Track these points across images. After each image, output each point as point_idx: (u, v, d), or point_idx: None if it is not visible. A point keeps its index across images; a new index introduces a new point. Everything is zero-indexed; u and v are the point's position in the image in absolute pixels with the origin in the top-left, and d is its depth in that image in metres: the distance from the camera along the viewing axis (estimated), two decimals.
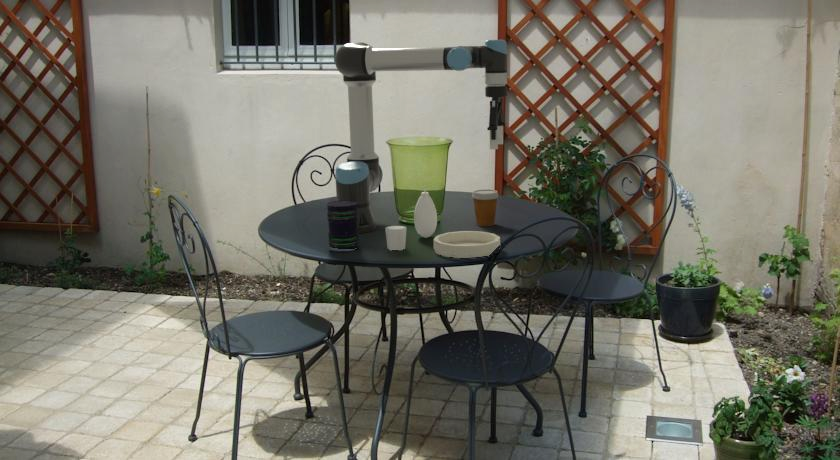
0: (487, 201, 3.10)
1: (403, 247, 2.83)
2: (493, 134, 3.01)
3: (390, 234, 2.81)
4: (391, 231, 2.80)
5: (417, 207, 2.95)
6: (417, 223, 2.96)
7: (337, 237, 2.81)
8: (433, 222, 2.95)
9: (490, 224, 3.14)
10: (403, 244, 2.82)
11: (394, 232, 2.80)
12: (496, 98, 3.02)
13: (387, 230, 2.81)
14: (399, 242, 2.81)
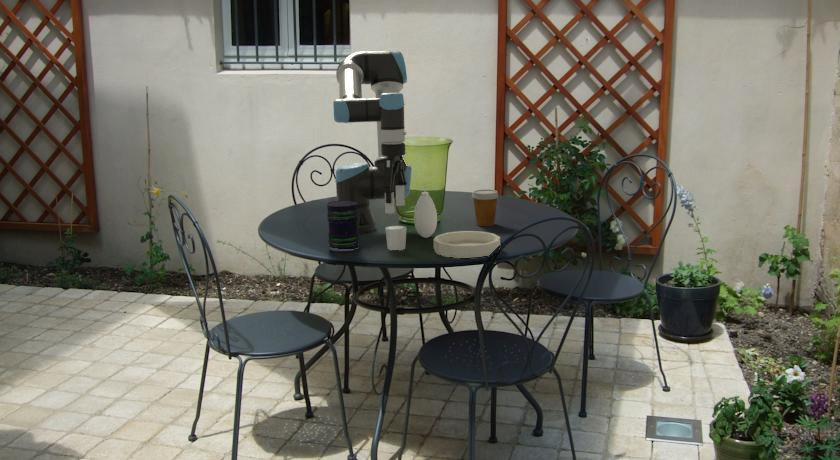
0: (487, 201, 3.10)
1: (403, 247, 2.83)
2: (388, 197, 2.72)
3: (390, 234, 2.81)
4: (391, 231, 2.80)
5: (417, 207, 2.95)
6: (417, 223, 2.96)
7: (337, 237, 2.81)
8: (433, 222, 2.95)
9: (490, 224, 3.14)
10: (403, 244, 2.82)
11: (394, 232, 2.80)
12: (392, 157, 2.74)
13: (387, 230, 2.81)
14: (399, 242, 2.81)
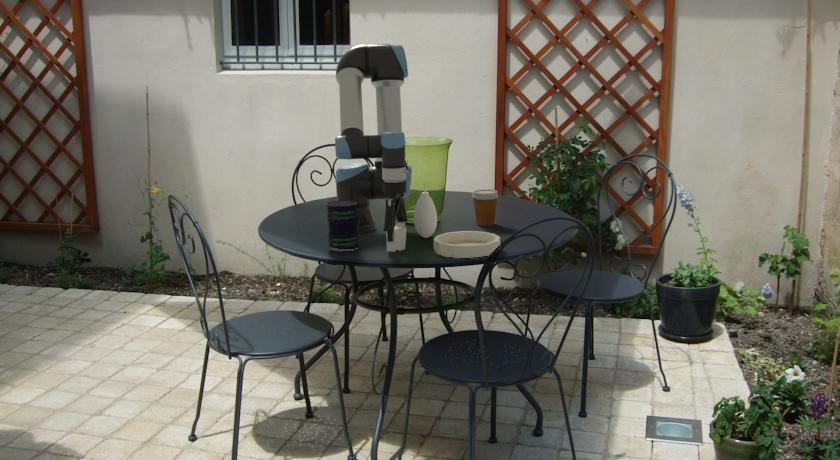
0: (487, 201, 3.10)
1: (403, 247, 2.83)
2: (390, 236, 2.76)
3: None
4: None
5: (417, 207, 2.95)
6: (417, 223, 2.96)
7: (337, 237, 2.81)
8: (433, 222, 2.95)
9: (490, 224, 3.14)
10: (403, 244, 2.82)
11: None
12: (393, 195, 2.77)
13: None
14: (399, 242, 2.81)
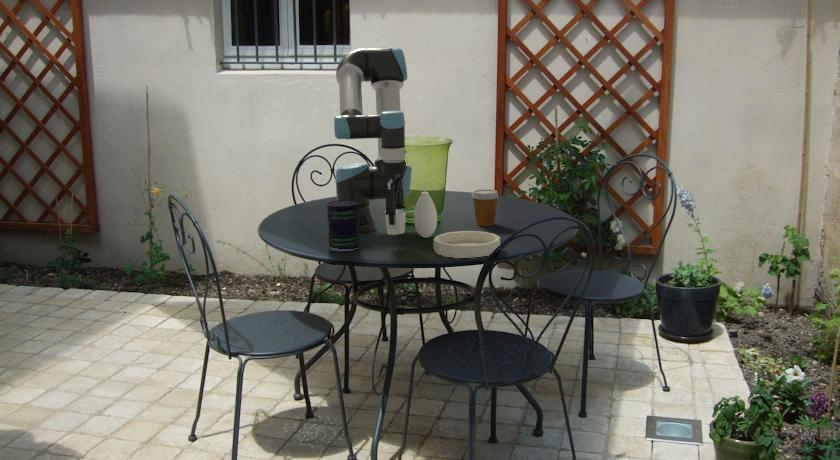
0: (487, 201, 3.10)
1: (402, 231, 2.82)
2: (391, 219, 2.78)
3: None
4: None
5: (417, 207, 2.95)
6: (417, 223, 2.96)
7: (337, 237, 2.81)
8: (433, 222, 2.95)
9: (490, 224, 3.14)
10: (402, 228, 2.82)
11: None
12: (392, 176, 2.76)
13: None
14: (398, 225, 2.81)
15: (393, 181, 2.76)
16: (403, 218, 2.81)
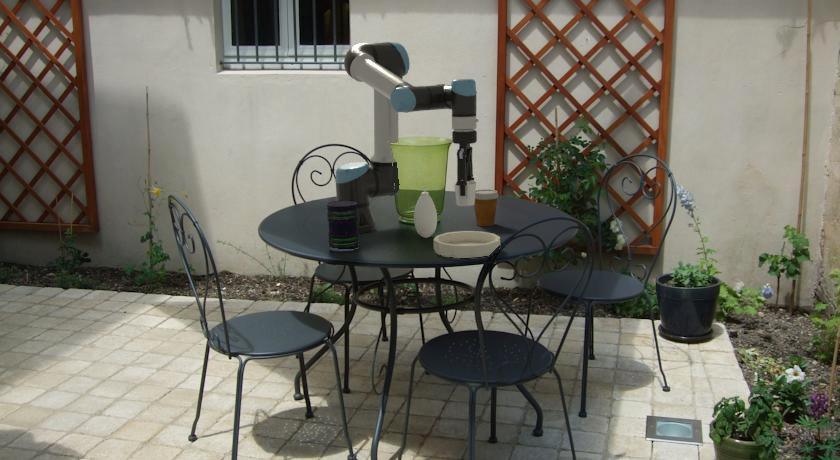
0: (487, 201, 3.10)
1: (473, 202, 2.74)
2: (462, 190, 2.70)
3: None
4: None
5: (417, 207, 2.95)
6: (417, 223, 2.96)
7: (337, 237, 2.81)
8: (433, 222, 2.95)
9: (490, 224, 3.14)
10: (473, 199, 2.74)
11: None
12: (464, 145, 2.68)
13: (456, 185, 2.73)
14: (469, 197, 2.73)
15: (464, 150, 2.68)
16: (474, 189, 2.73)
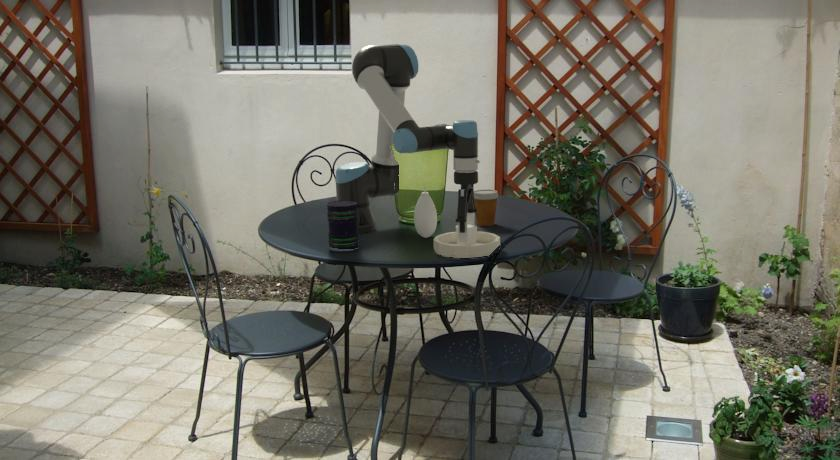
0: (487, 201, 3.10)
1: None
2: (462, 227, 2.70)
3: None
4: None
5: (417, 207, 2.95)
6: (417, 223, 2.96)
7: (337, 237, 2.81)
8: (433, 222, 2.95)
9: (490, 224, 3.14)
10: (474, 243, 2.77)
11: None
12: (465, 186, 2.71)
13: None
14: (470, 240, 2.76)
15: None
16: (475, 233, 2.76)
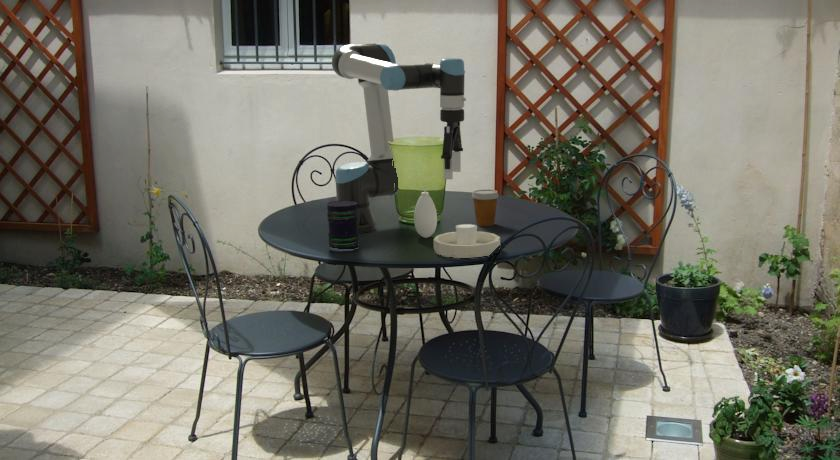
0: (487, 201, 3.10)
1: None
2: (447, 163, 2.73)
3: (461, 233, 2.75)
4: (462, 229, 2.75)
5: (417, 207, 2.95)
6: (417, 223, 2.96)
7: (337, 237, 2.81)
8: (433, 222, 2.95)
9: (490, 224, 3.14)
10: (474, 243, 2.77)
11: (465, 230, 2.75)
12: (451, 123, 2.75)
13: (458, 228, 2.76)
14: (470, 240, 2.76)
15: None
16: (475, 233, 2.76)
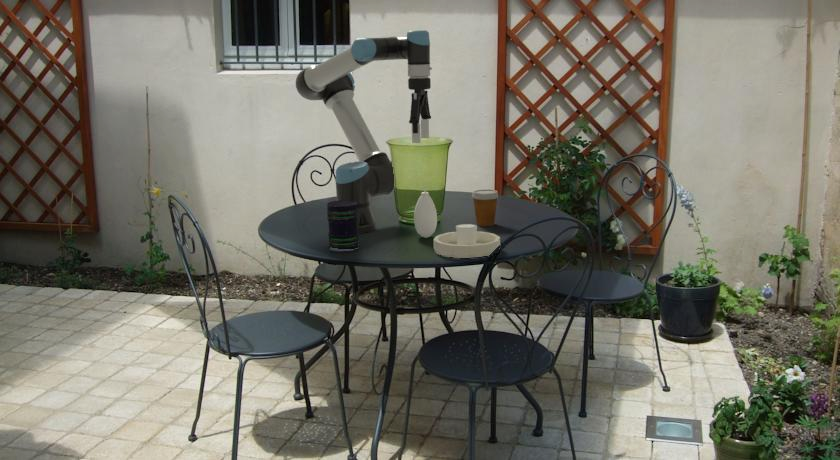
0: (487, 201, 3.10)
1: None
2: (415, 127, 2.93)
3: (461, 233, 2.75)
4: (462, 229, 2.75)
5: (417, 207, 2.95)
6: (417, 223, 2.96)
7: (337, 237, 2.81)
8: (433, 222, 2.95)
9: (490, 224, 3.14)
10: (474, 243, 2.77)
11: (465, 230, 2.75)
12: (418, 90, 2.94)
13: (458, 228, 2.76)
14: (470, 240, 2.76)
15: None
16: (475, 233, 2.76)
